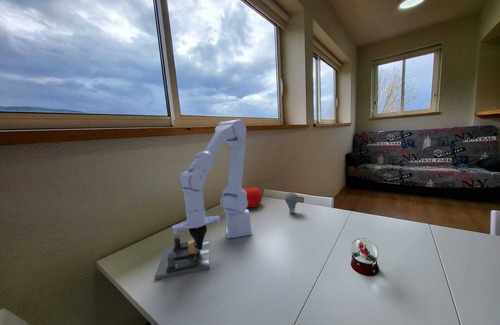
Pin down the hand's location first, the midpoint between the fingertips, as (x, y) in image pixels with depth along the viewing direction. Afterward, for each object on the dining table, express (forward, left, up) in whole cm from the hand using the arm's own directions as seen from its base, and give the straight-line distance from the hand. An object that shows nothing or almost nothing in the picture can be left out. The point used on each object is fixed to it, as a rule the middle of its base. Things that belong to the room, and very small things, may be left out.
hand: (199, 247), depth 65 cm
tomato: (-25, -39, -3) cm, 47 cm away
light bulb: (-41, -22, -3) cm, 47 cm away
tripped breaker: (+2, 0, -1) cm, 3 cm away
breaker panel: (+5, 0, -3) cm, 5 cm away
